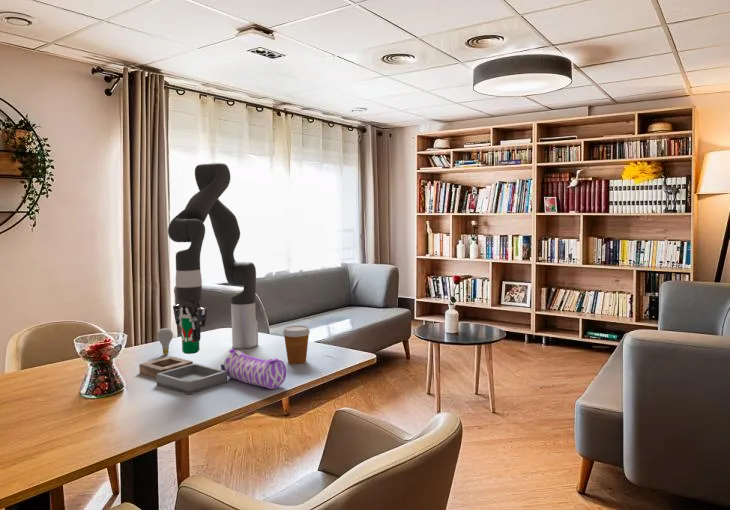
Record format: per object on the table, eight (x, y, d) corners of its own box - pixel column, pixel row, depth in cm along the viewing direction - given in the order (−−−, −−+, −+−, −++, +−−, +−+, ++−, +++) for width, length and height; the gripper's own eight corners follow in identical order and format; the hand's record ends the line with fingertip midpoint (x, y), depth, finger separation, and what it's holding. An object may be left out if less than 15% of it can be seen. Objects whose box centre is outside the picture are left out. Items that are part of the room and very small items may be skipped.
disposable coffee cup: (278, 364, 185) (277, 329, 184) (292, 357, 194) (291, 324, 193) (302, 366, 182) (301, 331, 181) (315, 359, 190) (314, 326, 190)
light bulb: (176, 353, 201) (175, 327, 201) (165, 357, 196) (164, 330, 196) (165, 352, 204) (164, 326, 203) (154, 355, 199) (153, 328, 198)
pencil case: (220, 380, 169) (219, 350, 168) (243, 373, 176) (243, 344, 175) (267, 394, 155) (266, 362, 154) (290, 385, 162) (290, 355, 161)
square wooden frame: (171, 364, 186) (171, 356, 186) (193, 370, 179) (192, 361, 179) (139, 373, 176) (139, 364, 176) (161, 379, 169) (160, 370, 169)
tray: (195, 373, 175) (195, 363, 175) (227, 382, 166) (227, 371, 165) (156, 385, 164) (156, 373, 164) (189, 394, 154) (188, 382, 154)
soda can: (202, 350, 166) (201, 312, 165) (195, 354, 161) (194, 315, 160) (186, 350, 167) (185, 311, 166) (179, 354, 162) (178, 315, 161)
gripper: (214, 284, 161) (215, 340, 163) (185, 281, 170) (186, 334, 171) (192, 287, 155) (194, 345, 157) (163, 284, 164) (166, 339, 165)
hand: (190, 339), depth 164 cm, fingers closed on soda can, 5 cm apart
